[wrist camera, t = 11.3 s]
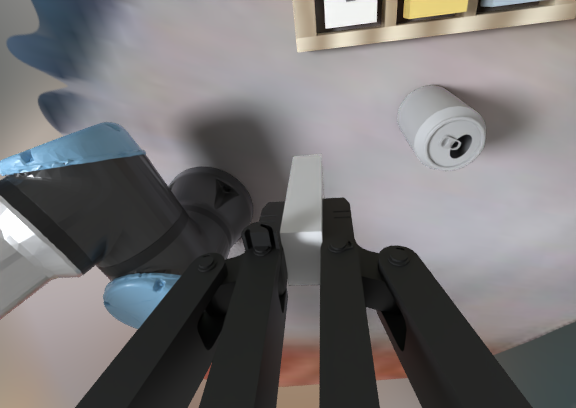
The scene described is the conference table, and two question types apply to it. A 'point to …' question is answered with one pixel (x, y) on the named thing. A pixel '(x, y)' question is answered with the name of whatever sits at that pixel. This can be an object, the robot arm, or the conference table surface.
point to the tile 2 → (432, 7)
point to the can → (441, 128)
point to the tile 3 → (502, 2)
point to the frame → (422, 23)
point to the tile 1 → (349, 12)
